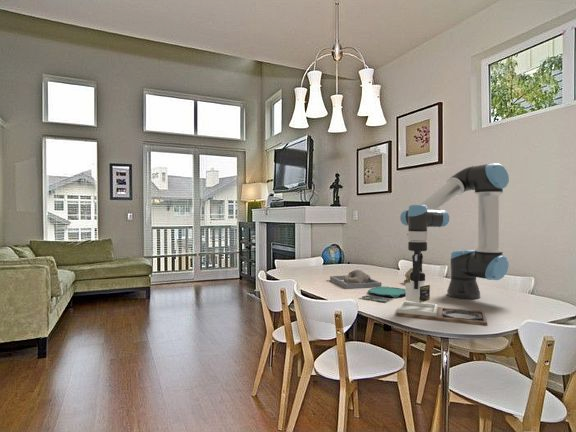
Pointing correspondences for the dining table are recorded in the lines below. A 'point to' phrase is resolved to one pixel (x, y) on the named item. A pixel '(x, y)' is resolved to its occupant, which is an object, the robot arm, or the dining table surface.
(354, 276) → the grey rounded lump
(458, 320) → the board
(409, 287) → the medicine bottle
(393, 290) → the cutlery set
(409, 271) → the ceramic model
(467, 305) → the dining table surface
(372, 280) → the grey rectangular tray
